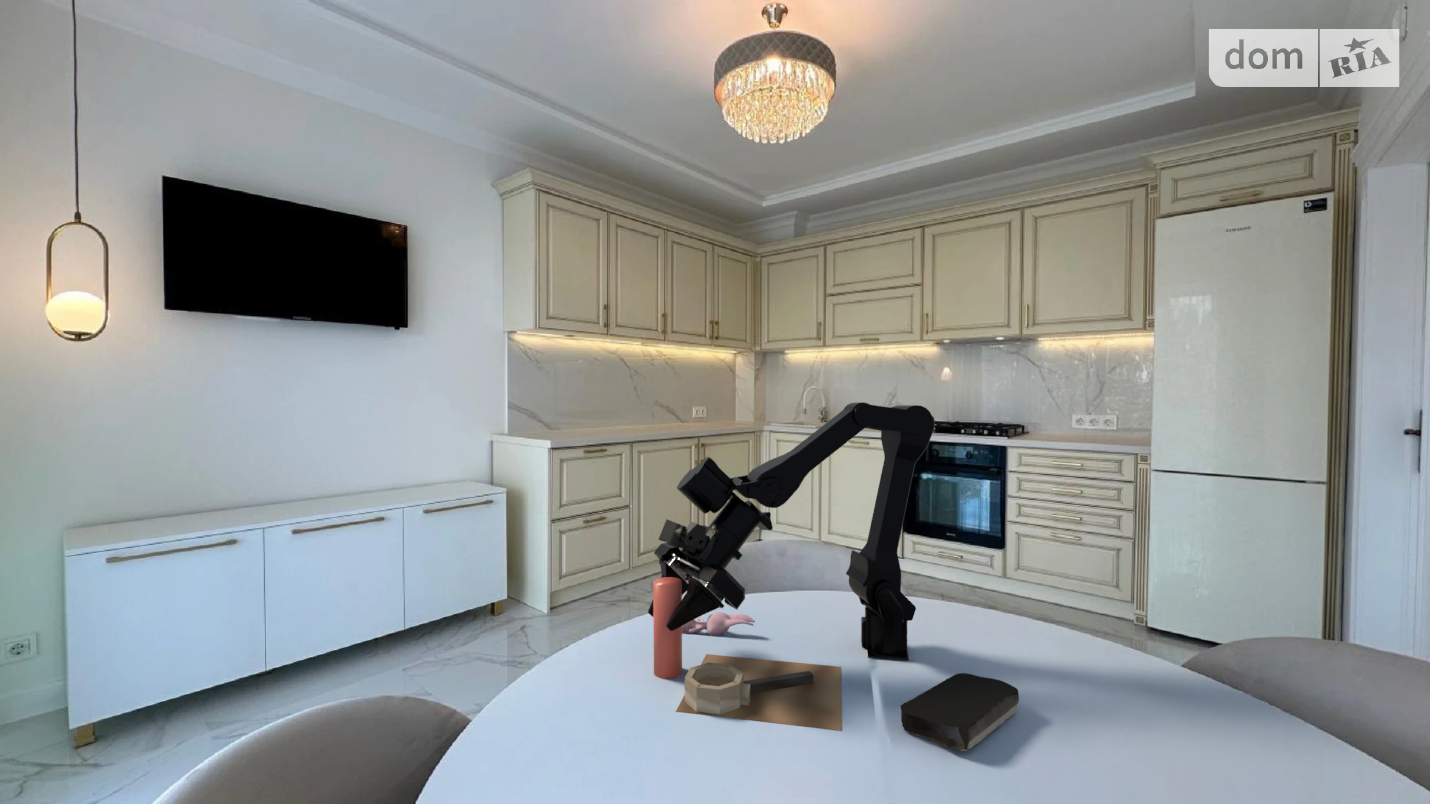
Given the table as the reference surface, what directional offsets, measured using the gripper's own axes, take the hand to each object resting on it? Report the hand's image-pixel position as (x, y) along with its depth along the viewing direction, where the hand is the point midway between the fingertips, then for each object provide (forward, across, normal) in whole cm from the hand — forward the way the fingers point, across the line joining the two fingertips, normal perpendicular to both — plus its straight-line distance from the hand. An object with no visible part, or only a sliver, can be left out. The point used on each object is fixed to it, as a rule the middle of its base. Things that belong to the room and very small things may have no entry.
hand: (659, 621), depth 81 cm
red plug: (+5, 0, +7) cm, 9 cm away
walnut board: (-2, +10, +14) cm, 17 cm away
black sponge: (-14, +28, +26) cm, 41 cm away
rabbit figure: (-4, -11, +17) cm, 21 cm away
